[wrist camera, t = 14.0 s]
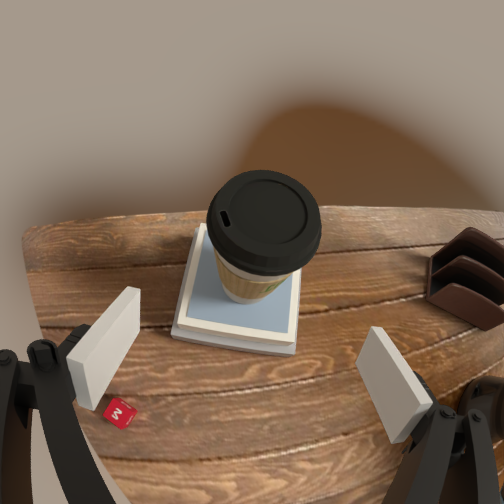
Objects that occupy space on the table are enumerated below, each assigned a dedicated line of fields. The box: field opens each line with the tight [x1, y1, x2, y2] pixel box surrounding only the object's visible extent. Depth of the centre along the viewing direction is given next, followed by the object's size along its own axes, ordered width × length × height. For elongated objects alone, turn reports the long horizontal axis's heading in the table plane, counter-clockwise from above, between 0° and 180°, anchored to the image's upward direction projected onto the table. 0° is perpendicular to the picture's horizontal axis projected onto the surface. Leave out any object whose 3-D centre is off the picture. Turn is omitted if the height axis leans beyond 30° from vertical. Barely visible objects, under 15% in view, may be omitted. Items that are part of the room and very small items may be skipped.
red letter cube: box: [103, 398, 137, 429], centre depth 30 cm, size 3×3×3 cm
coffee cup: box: [206, 170, 322, 305], centre depth 29 cm, size 10×10×15 cm
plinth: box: [171, 223, 301, 357], centre depth 39 cm, size 16×16×6 cm
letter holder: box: [426, 227, 504, 331], centre depth 41 cm, size 10×20×14 cm, turn 67°
